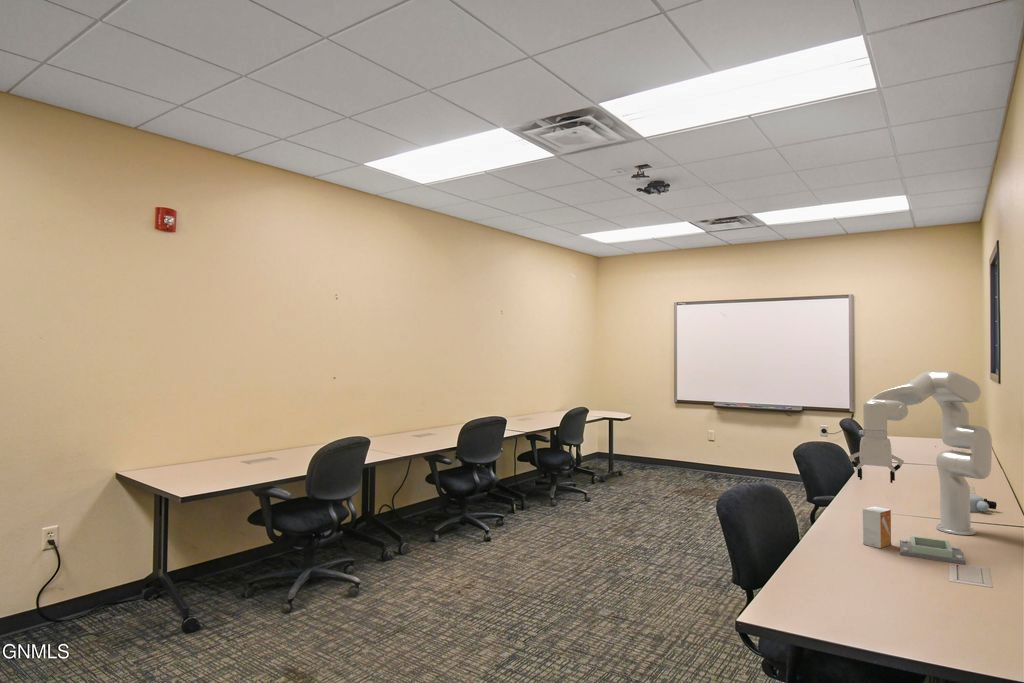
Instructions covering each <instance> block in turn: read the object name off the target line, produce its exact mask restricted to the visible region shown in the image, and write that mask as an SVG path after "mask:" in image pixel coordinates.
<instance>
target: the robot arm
mask: <svg viewBox="0 0 1024 683" xmlns="http://www.w3.org/2000/svg"><path fill="white" fill-rule="evenodd" d="M981 393H982V392H981V387H980V385H979V384H978V383H977V382H975V381H974V380H972V379H971V378H968V377H966V376H964V375H962V374H960V373H958V372H955V371H949V370H927V371H923V372H921V373H919V374H918V375H916V377H913V378H912V379H911V380H910V381H908V382H906V383H905V384H903V385H899V386H895V387H893V388H889V389H885V390H882V391H879V392H878V393H876V394H875V395H873V396H872V397H870V398H869V399H868V400H866V401H864V402H863V404H862V406H863V407H862V411H863V412H862V414H863V415H862V417H863V420H862V421H863V423H862V424H863V429H861V430H858V434H859V435H862V437H861V438H860V442H859V451H858V452H855V453H853V454H851V455H848V459H849V460H850V462H851V464H852V466H854V467H855V468H856V469H857V478H859V481H862V480H863V468H862V467H863V466H871V467H872V466H873V467H875V466H876V467H885V468H886V467H887V468H889V470H890V472H889V477H890V478H889V482H890V484H893V481H896V479H895V478H896V474H895V473H896V472H897V471H898V470H900V469H901V467H902V466H903V464H904V459H902V458H900V457H898V456H897V455H894V454H893V452H892V450H893V449H892V445H891V439H889V438H888V421H893V422H894V421H895V422H899V421H903V420H905V418H906V417H907V416H908V414H909V409H908V407H909V406H915V405H919V404H921V403H923V402H924V401H925V400H927V399H928V398H929V397H932V398H933V399H934V400H935V402H936V403H937V404H938V405H939V407H940V409H941V413H942V414H941V417H942V418H941V419H942V420H941V421H942V422H941V439H942V443H943V444H944V445H945V446H948V447H951V448H958V449H962V450H963V449H965V450H970V452H966V451H958V450H948V449H947V450H943V451H940V452H939V453H938V454H937V456H936V461H935V463H936V467H937V471H938V476H939V494H940V495H939V500H940V502H939V503H940V504H939V505H940V523H937V524H935V525H936V526H935V528H936V529H937V530H938V531H940V532H943V533H947V534H953V535H960V536H973V535H976V533H977V532H976V529H975V528H972V527H971V512H970V493H971V489H970V485H969V482H968V481H967V479H966V478H969V479H975V480H985V479H987V478H988V477H989V476H990V474H991V471H992V459H993V456H992V454H993V452H992V451H993V438H992V434H991V433H990V431H989V430H988V429H987V428H986V427H984V426H982V425H972V424H970V414H969V410H968V407H967V406H966V405H965V403H968V404H970V403H971V404H972V403H975V402H977V401H978V400H979V399H980V397H981ZM857 457H859V463H858V462H856V459H855V458H857ZM893 460H894V461H896V462H897V464H896V465H895V466H894V465H893Z"/></svg>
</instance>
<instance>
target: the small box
mask: <svg viewBox="0 0 1024 683" xmlns="http://www.w3.org/2000/svg"><path fill="white" fill-rule="evenodd" d="M891 512H892V511H891V508H884V507H879V506H875V505H874V506H870V507H869V506H868V507H866V508H862V545H866V546H869V547H873V548H878V549H882V548H885V547H888V546H891V545H892V524H891V522H892V516H891V515H892V514H891Z"/></svg>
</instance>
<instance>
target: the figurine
mask: <svg viewBox="0 0 1024 683" xmlns="http://www.w3.org/2000/svg"><path fill="white" fill-rule="evenodd" d="M990 509H992V510H996V509H997V502H996V501H992V500H988V499H987V498H984V497H982V496H979V495H976V494H974V493H972V492H970V513H972V512H973V513H980V511H981V512H987V511H988V510H990Z"/></svg>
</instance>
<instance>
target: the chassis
mask: <svg viewBox="0 0 1024 683" xmlns="http://www.w3.org/2000/svg"><path fill="white" fill-rule="evenodd" d="M899 551H900V552H899V553H900V556H904V557H905V556H906V557H912V558H913V557H914V558H918V559H919V558H920V559H925V560H927V559H928V560H933V561H940V562H945V563H953V564H957V565H959V564H960V565H966V560H965V557H964V554H963V552H962V549H961V548H959V546H951V543H950V541H949V540H945V539H939V538H932V537H931V538H929V537H922V536H916V535H910V541H909V540H908V539H899Z"/></svg>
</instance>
